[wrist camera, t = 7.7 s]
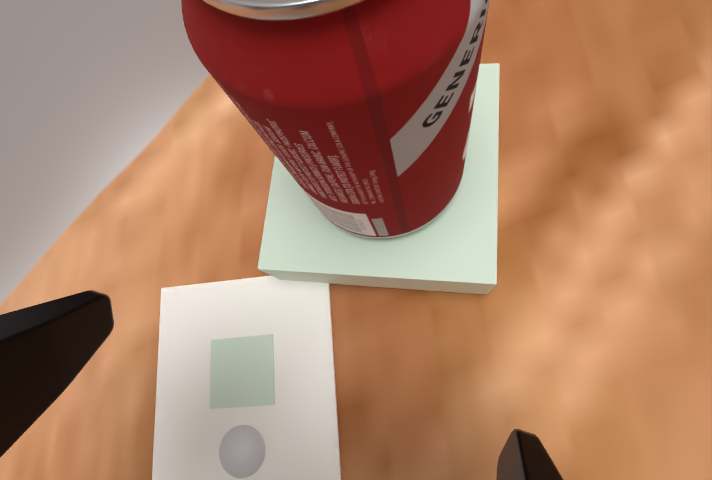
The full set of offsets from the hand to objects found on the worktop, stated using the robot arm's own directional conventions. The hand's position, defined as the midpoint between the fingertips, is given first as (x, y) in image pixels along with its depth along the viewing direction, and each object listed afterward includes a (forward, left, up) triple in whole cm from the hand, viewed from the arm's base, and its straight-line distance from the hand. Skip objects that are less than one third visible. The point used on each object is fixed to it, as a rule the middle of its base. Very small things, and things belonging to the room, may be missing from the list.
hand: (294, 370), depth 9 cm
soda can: (+8, 0, -8) cm, 12 cm away
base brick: (+8, 0, -11) cm, 14 cm away
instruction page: (-3, +6, -11) cm, 13 cm away
